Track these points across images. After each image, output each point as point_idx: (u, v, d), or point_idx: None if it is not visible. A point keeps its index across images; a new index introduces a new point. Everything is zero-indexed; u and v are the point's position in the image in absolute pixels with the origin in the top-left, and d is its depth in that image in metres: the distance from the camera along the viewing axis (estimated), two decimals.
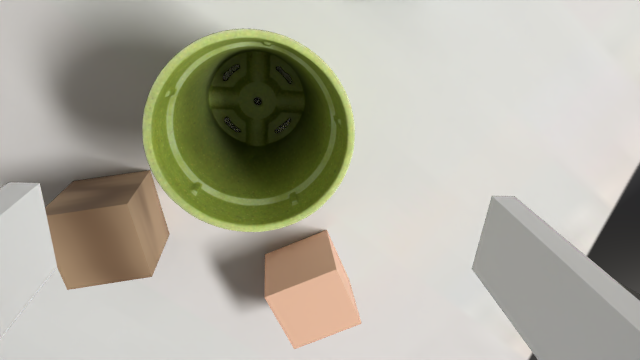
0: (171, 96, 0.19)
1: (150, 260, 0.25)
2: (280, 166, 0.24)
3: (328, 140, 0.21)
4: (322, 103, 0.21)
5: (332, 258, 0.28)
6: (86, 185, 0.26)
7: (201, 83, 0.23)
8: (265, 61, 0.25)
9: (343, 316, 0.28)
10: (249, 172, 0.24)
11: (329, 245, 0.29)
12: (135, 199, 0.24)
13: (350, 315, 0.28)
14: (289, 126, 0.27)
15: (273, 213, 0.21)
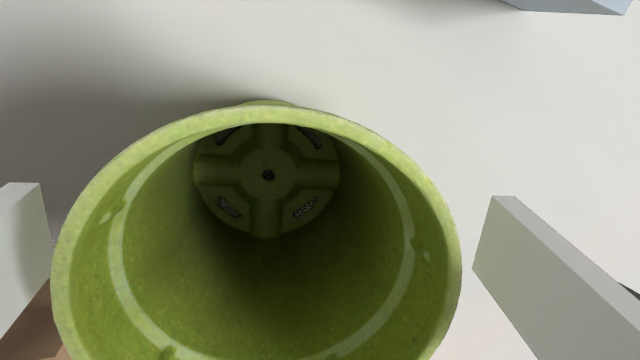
0: (116, 214, 0.10)
1: None
2: (305, 286, 0.15)
3: (395, 271, 0.12)
4: (384, 205, 0.13)
5: None
6: None
7: (179, 161, 0.14)
8: None
9: None
10: (257, 298, 0.15)
11: None
12: None
13: None
14: (314, 208, 0.18)
15: None
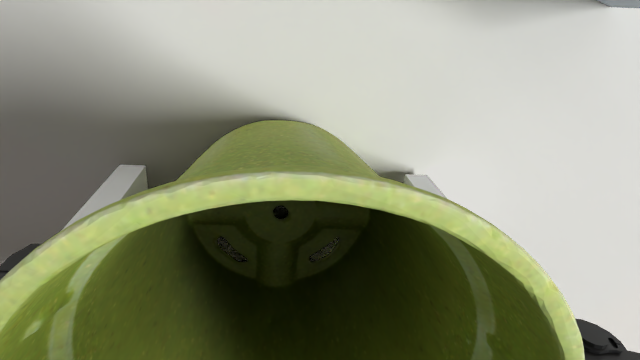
0: (57, 311, 0.07)
1: None
2: None
3: None
4: (443, 276, 0.09)
5: None
6: None
7: None
8: None
9: None
10: None
11: None
12: None
13: None
14: (336, 251, 0.15)
15: None
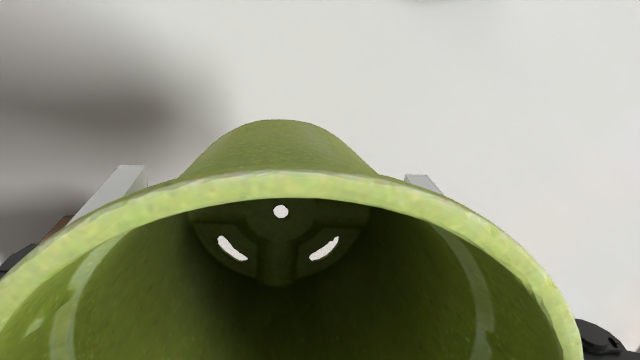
0: (59, 308, 0.07)
1: None
2: (327, 359, 0.12)
3: None
4: (442, 274, 0.09)
5: None
6: None
7: None
8: None
9: None
10: None
11: None
12: None
13: None
14: (336, 250, 0.15)
15: None
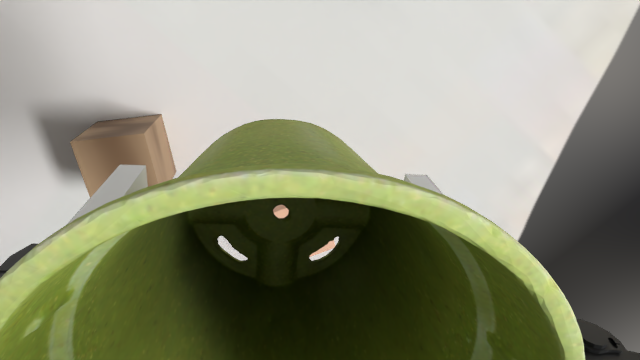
0: (58, 309, 0.07)
1: None
2: None
3: None
4: (443, 274, 0.09)
5: None
6: (109, 123, 0.32)
7: None
8: None
9: None
10: None
11: None
12: (149, 132, 0.30)
13: None
14: (337, 250, 0.15)
15: None
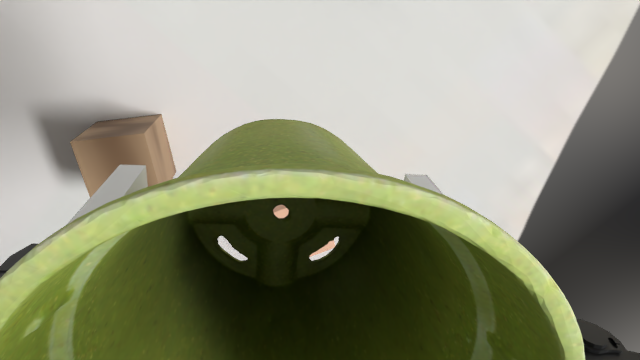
0: (58, 309, 0.07)
1: None
2: None
3: None
4: (443, 274, 0.09)
5: None
6: (109, 123, 0.32)
7: None
8: None
9: None
10: None
11: None
12: (149, 132, 0.30)
13: None
14: (336, 250, 0.15)
15: None
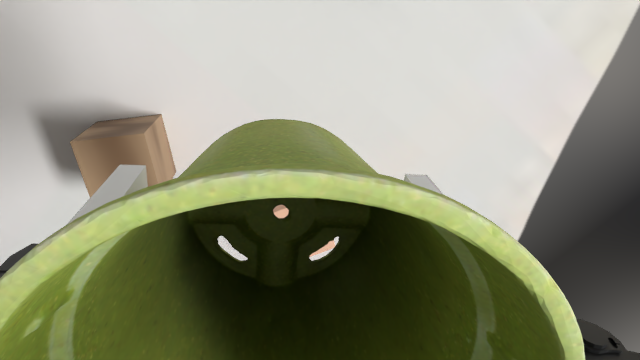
0: (58, 309, 0.07)
1: None
2: None
3: None
4: (443, 274, 0.09)
5: None
6: (109, 123, 0.32)
7: None
8: None
9: None
10: None
11: None
12: (149, 132, 0.30)
13: None
14: (336, 250, 0.15)
15: None
